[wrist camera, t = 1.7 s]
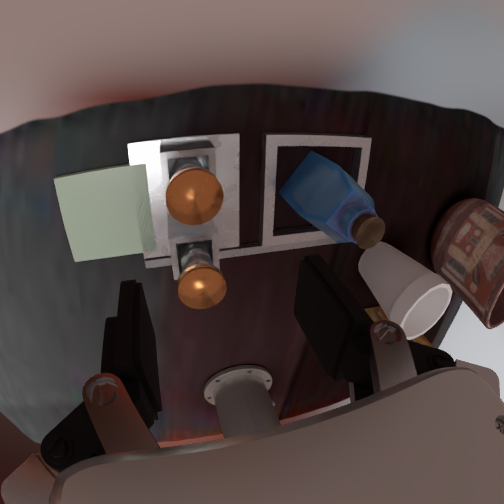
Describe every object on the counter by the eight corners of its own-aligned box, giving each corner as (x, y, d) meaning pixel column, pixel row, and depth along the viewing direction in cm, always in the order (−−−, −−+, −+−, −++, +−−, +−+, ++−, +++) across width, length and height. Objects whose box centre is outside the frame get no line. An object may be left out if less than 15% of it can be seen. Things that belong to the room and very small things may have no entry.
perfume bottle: (311, 150, 32) (374, 186, 23) (344, 179, 36) (407, 223, 26) (277, 192, 34) (327, 245, 24) (313, 218, 37) (366, 272, 28)
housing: (363, 134, 33) (394, 146, 28) (348, 237, 40) (371, 260, 36) (128, 142, 27) (121, 155, 22) (146, 263, 34) (145, 294, 30)
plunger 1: (208, 147, 25) (223, 168, 20) (209, 189, 28) (224, 221, 22) (163, 151, 25) (163, 174, 19) (166, 193, 27) (168, 228, 21)
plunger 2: (211, 227, 30) (225, 267, 24) (213, 261, 32) (227, 305, 26) (171, 232, 29) (175, 274, 23) (175, 266, 31) (181, 312, 25)
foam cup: (391, 221, 41) (451, 270, 31) (402, 261, 47) (452, 309, 36) (341, 257, 42) (394, 317, 32) (358, 294, 47) (402, 349, 37)
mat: (146, 161, 28) (145, 163, 28) (157, 247, 34) (157, 250, 33) (56, 176, 26) (53, 179, 25) (76, 258, 31) (75, 262, 31)
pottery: (486, 188, 45) (555, 233, 30) (460, 264, 54) (516, 315, 39) (434, 182, 40) (523, 239, 26) (406, 276, 49) (470, 343, 35)
